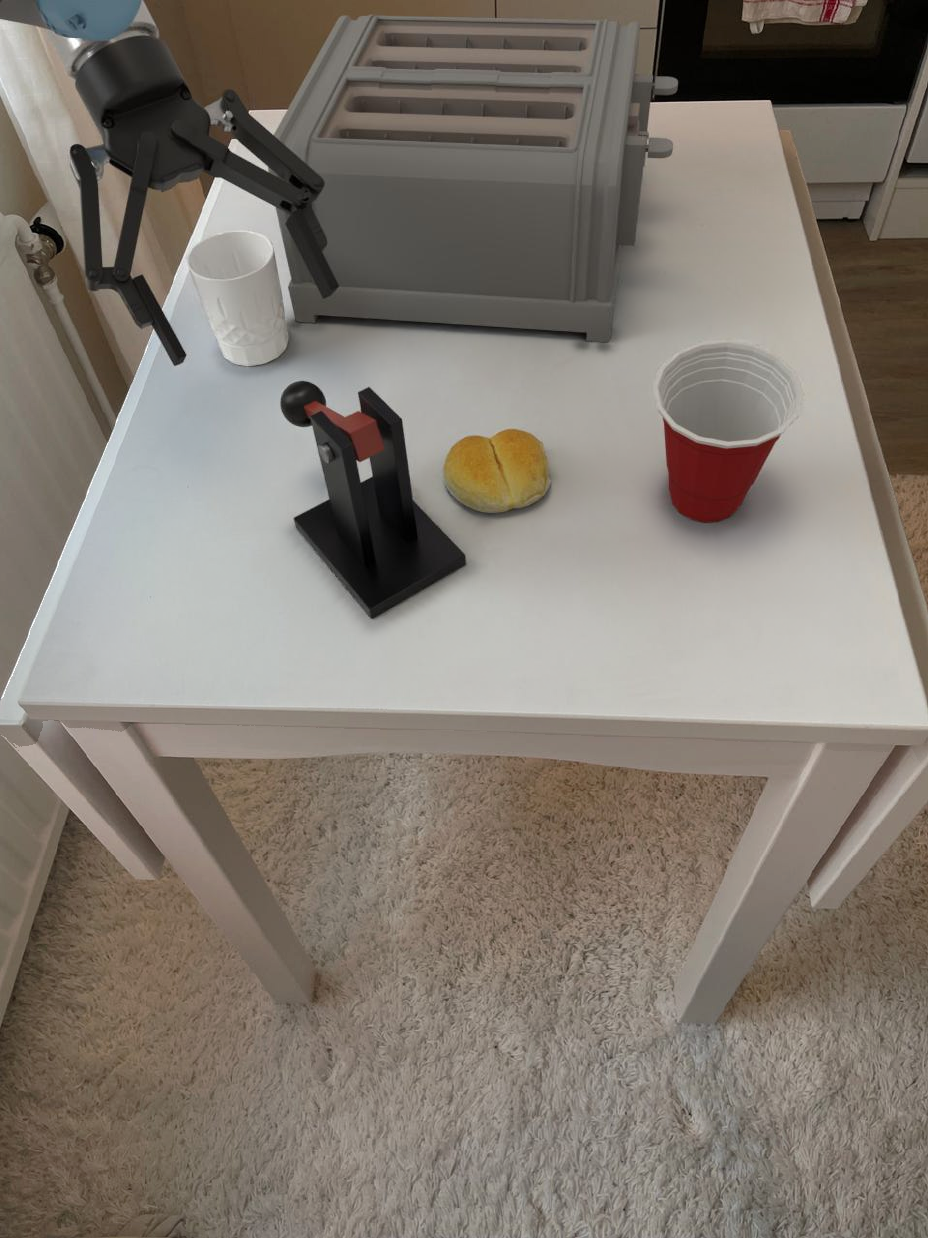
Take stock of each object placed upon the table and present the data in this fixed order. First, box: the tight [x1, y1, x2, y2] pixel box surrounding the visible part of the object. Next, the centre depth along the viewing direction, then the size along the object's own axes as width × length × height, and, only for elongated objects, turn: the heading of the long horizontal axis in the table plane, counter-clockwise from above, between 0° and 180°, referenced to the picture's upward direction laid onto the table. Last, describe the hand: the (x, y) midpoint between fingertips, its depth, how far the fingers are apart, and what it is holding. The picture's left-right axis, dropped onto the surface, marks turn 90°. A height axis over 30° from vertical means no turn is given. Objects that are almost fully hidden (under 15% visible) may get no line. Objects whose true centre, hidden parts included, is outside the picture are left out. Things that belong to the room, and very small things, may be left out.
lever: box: [279, 380, 385, 463], centre depth 72 cm, size 13×4×4 cm, turn 35°
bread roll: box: [442, 428, 552, 514], centre depth 80 cm, size 8×9×4 cm
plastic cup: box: [652, 339, 806, 523], centre depth 74 cm, size 11×11×12 cm
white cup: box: [186, 229, 290, 367], centre depth 90 cm, size 8×8×10 cm
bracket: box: [293, 386, 467, 620], centre depth 72 cm, size 12×9×14 cm
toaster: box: [267, 13, 679, 343], centre depth 96 cm, size 31×36×17 cm
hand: (258, 326), depth 76 cm, fingers open, 13 cm apart
